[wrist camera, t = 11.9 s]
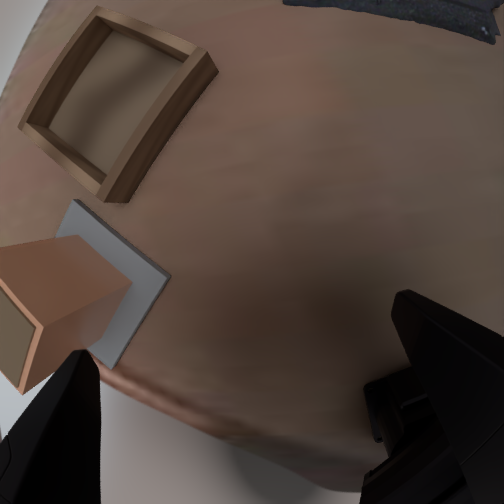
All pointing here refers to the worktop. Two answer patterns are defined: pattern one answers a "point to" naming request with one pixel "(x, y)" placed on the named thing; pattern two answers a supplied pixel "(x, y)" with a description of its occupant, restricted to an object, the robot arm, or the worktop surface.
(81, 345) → the lidded terracotta box
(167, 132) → the brown wooden tray
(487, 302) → the worktop surface
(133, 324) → the rubber mat
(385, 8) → the dark slate chunk
